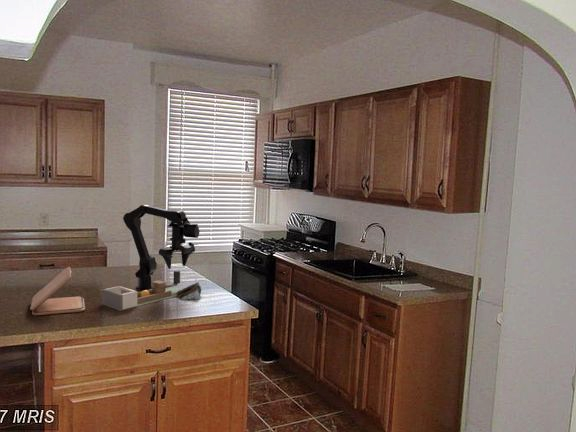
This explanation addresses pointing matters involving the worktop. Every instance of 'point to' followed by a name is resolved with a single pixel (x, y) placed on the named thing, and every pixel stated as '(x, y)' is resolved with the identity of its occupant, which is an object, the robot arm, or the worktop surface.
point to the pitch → (154, 297)
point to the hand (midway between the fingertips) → (176, 267)
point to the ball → (144, 293)
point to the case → (56, 305)
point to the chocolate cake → (190, 292)
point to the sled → (161, 286)
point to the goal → (119, 298)
